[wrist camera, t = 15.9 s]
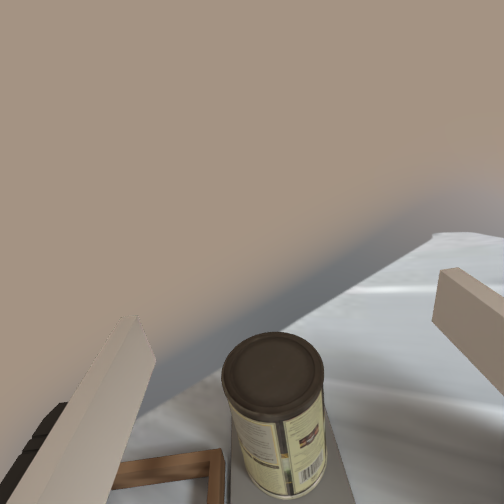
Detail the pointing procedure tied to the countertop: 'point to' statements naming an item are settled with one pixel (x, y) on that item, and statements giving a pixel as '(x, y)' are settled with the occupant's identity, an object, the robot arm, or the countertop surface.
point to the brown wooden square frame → (176, 471)
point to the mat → (317, 500)
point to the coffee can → (278, 412)
